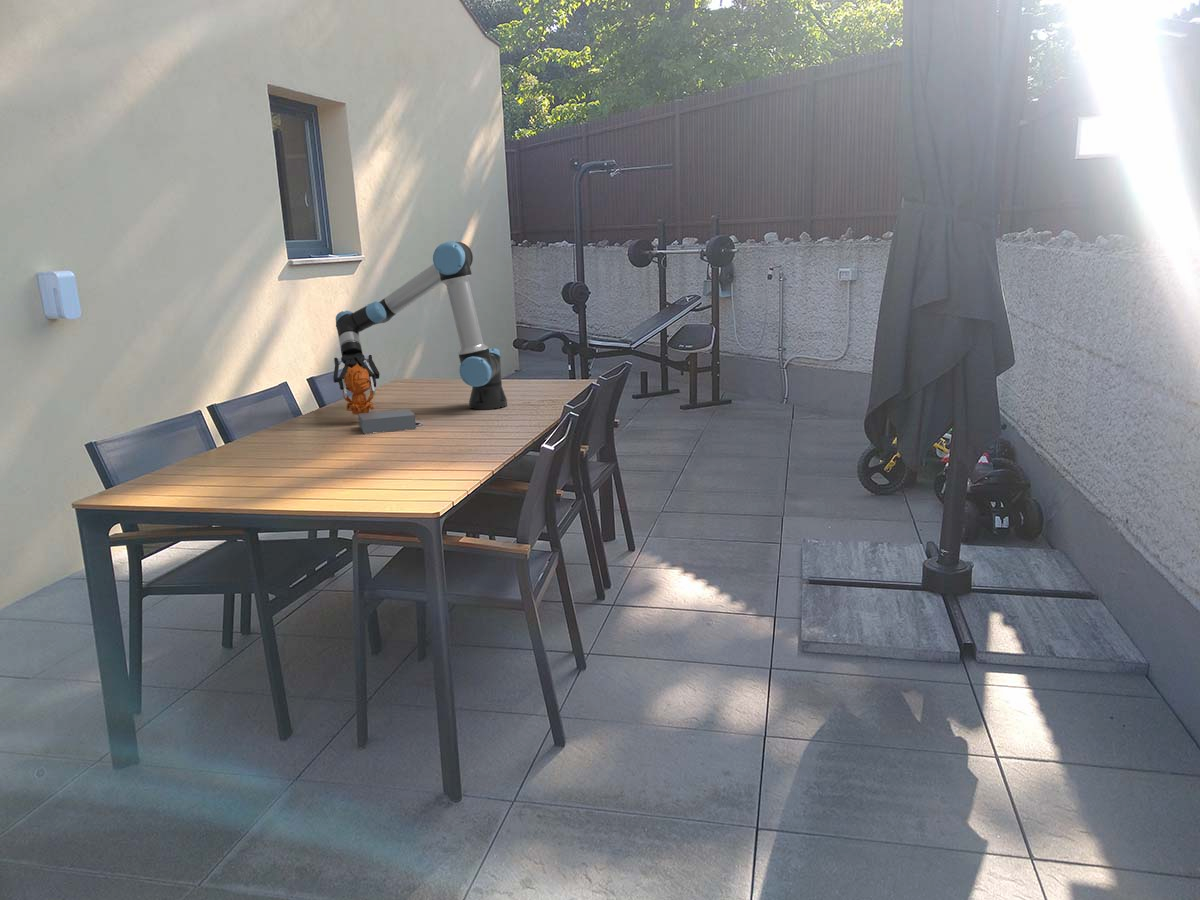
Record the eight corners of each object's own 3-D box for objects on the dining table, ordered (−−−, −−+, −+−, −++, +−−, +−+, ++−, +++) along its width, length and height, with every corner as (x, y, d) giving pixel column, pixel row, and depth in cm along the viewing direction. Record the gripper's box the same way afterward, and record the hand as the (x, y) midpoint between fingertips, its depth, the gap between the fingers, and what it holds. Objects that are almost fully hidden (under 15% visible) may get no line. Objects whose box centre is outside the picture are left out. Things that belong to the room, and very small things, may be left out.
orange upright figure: (380, 409, 337) (375, 361, 333) (370, 415, 326) (365, 365, 322) (351, 410, 338) (346, 362, 334) (340, 416, 327) (335, 366, 324)
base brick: (409, 422, 331) (408, 409, 330) (416, 428, 318) (415, 415, 317) (359, 427, 325) (358, 413, 324) (363, 434, 312) (362, 420, 311)
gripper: (380, 350, 345) (390, 397, 334) (320, 355, 338) (329, 403, 327) (380, 338, 339) (390, 385, 328) (320, 342, 332) (328, 391, 321)
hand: (359, 394), depth 328 cm, fingers closed on orange upright figure, 9 cm apart
